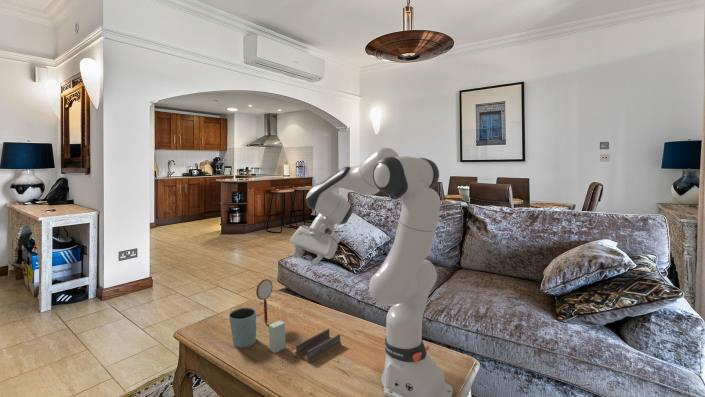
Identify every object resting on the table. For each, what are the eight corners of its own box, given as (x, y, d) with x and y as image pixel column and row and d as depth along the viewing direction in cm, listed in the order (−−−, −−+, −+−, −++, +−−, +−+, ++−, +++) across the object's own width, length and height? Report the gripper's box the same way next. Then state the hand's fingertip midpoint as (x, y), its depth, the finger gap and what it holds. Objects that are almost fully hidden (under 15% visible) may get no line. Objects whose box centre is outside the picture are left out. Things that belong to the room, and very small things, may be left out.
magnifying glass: (259, 328, 147) (257, 283, 145) (257, 327, 148) (254, 282, 146) (274, 320, 155) (273, 277, 152) (272, 319, 156) (270, 276, 153)
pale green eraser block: (285, 347, 133) (284, 322, 132) (274, 353, 129) (273, 327, 128) (281, 344, 135) (280, 320, 134) (269, 350, 131) (268, 324, 130)
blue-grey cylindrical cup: (257, 347, 134) (255, 317, 132) (229, 350, 131) (227, 320, 130) (257, 333, 143) (256, 306, 142) (231, 337, 141) (230, 309, 139)
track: (341, 345, 134) (341, 335, 134) (309, 363, 123) (309, 352, 122) (327, 337, 140) (327, 328, 139) (295, 354, 128) (294, 344, 128)
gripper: (297, 220, 143) (279, 249, 138) (337, 233, 133) (320, 265, 127) (304, 228, 148) (287, 256, 143) (343, 241, 137) (327, 272, 132)
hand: (303, 260), depth 135 cm, fingers open, 8 cm apart
